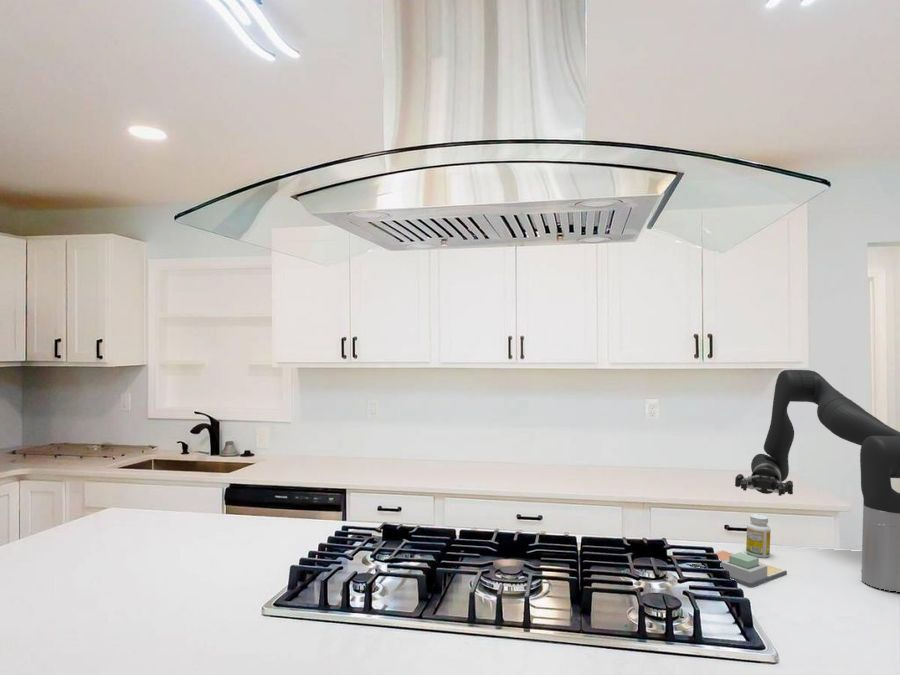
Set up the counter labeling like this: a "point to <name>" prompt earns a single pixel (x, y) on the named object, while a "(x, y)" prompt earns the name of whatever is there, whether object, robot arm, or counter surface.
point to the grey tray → (748, 571)
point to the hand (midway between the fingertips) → (762, 489)
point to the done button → (744, 560)
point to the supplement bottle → (758, 536)
